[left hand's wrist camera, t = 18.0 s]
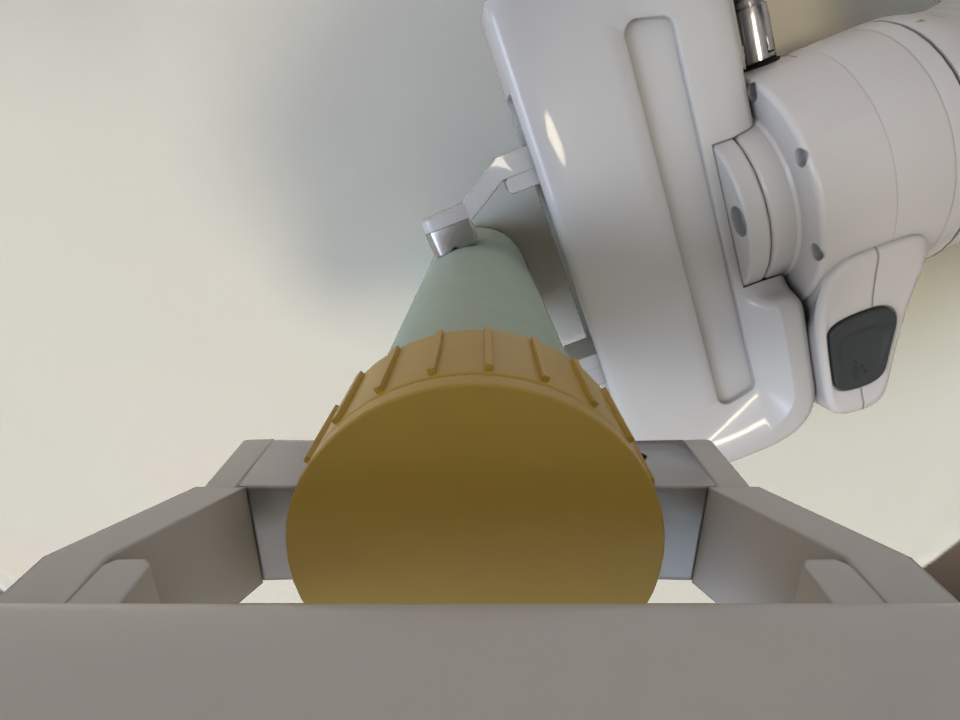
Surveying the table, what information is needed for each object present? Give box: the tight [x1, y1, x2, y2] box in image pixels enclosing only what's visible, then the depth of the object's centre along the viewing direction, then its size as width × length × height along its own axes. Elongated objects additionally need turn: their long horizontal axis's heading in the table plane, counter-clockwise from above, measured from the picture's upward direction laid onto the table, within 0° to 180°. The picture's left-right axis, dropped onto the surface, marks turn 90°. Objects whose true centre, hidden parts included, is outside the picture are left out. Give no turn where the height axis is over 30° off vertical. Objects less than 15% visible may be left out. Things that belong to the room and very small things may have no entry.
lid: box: [286, 327, 665, 603], centre depth 9 cm, size 6×6×2 cm
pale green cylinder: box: [388, 227, 567, 356], centre depth 18 cm, size 5×5×19 cm
